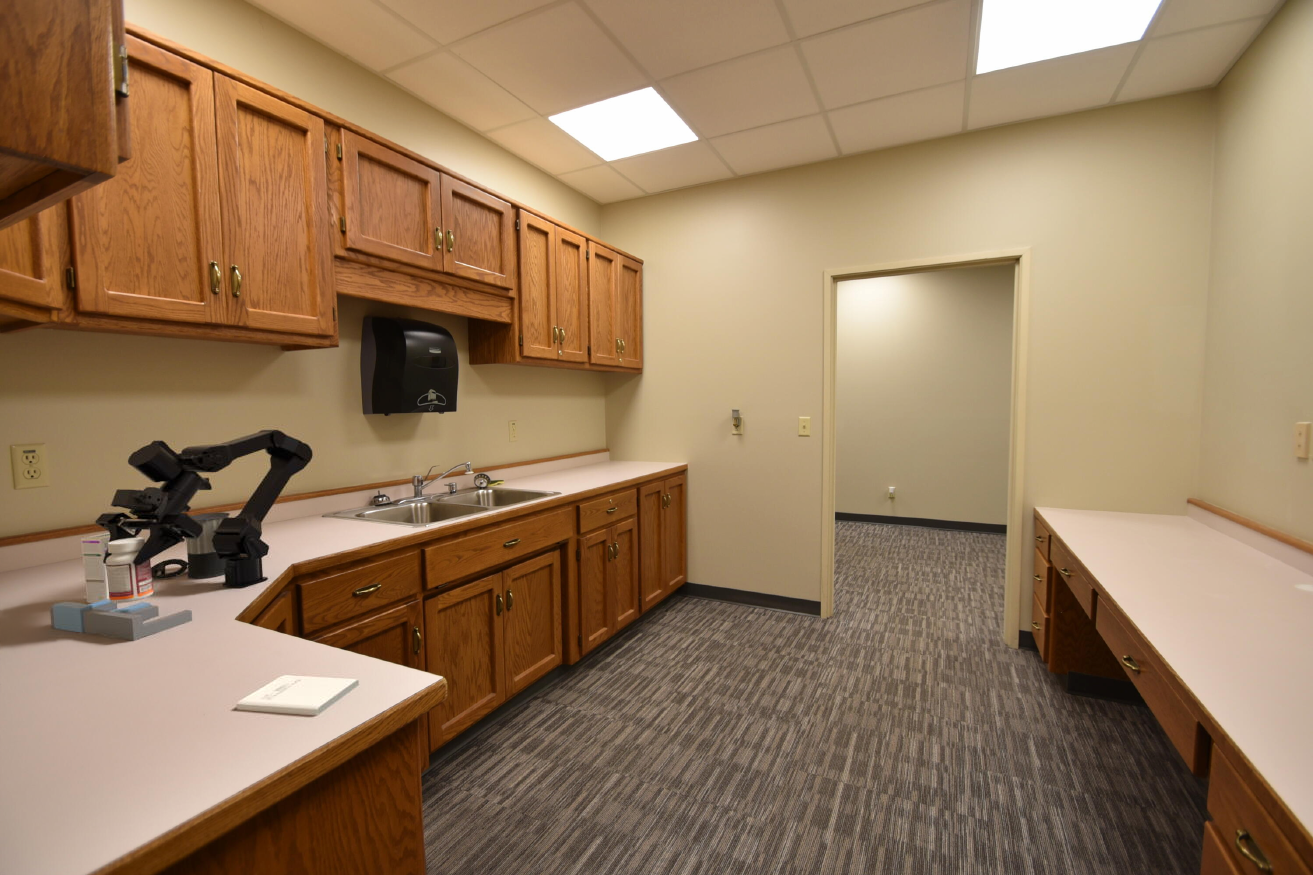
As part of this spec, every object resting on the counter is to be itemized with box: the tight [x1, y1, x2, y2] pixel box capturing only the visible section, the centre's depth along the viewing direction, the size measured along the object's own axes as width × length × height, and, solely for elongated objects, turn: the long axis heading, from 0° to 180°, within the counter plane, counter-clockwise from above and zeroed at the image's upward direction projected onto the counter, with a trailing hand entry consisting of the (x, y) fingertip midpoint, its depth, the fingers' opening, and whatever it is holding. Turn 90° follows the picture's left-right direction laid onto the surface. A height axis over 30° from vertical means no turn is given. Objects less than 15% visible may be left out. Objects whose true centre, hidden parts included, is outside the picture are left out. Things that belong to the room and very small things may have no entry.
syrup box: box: [80, 532, 110, 604], centre depth 120 cm, size 6×6×14 cm
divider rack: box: [49, 599, 193, 641], centre depth 107 cm, size 24×10×5 cm, turn 73°
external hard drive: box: [236, 674, 360, 716], centre depth 79 cm, size 2×8×12 cm
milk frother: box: [151, 511, 231, 580], centre depth 138 cm, size 14×16×15 cm
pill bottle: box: [106, 536, 154, 604], centre depth 106 cm, size 6×6×11 cm
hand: (120, 564), depth 104 cm, fingers closed on pill bottle, 6 cm apart
